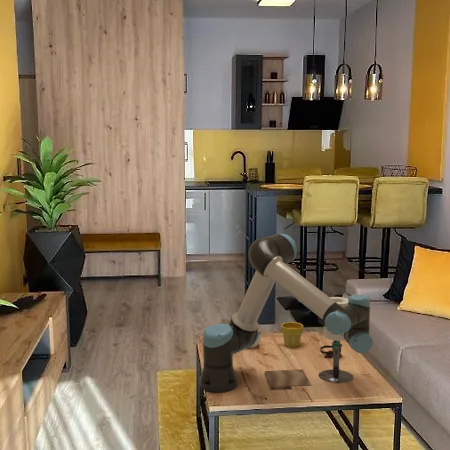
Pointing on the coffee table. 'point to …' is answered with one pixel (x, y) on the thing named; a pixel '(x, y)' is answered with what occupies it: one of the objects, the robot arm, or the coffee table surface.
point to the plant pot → (292, 333)
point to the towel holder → (336, 371)
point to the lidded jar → (257, 340)
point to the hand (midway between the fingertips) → (334, 313)
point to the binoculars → (330, 353)
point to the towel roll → (327, 334)
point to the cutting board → (286, 379)
